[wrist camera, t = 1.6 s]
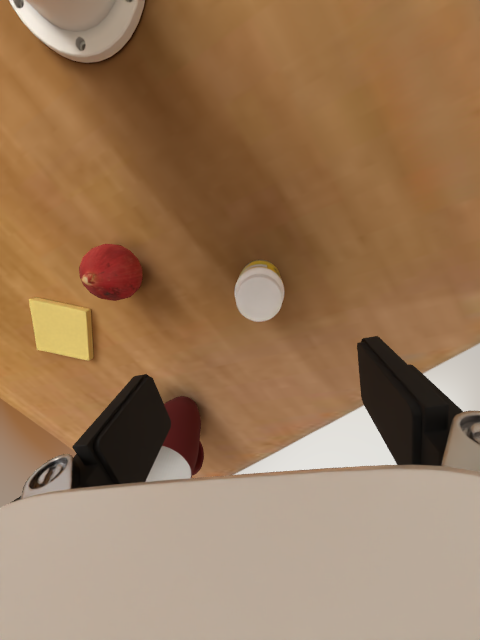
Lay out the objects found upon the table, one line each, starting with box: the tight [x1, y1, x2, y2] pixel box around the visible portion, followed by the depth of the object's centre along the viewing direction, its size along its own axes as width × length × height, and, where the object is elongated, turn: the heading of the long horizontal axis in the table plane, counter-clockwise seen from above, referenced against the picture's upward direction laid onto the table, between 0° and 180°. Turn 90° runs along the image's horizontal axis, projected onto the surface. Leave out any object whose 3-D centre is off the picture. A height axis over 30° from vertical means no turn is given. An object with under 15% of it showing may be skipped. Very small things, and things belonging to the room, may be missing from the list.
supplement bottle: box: [235, 260, 284, 322], centre depth 24 cm, size 5×5×8 cm
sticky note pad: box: [29, 297, 94, 361], centre depth 32 cm, size 8×8×1 cm
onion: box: [79, 244, 143, 301], centre depth 25 cm, size 6×6×8 cm
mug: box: [145, 396, 204, 482], centre depth 32 cm, size 11×8×10 cm
